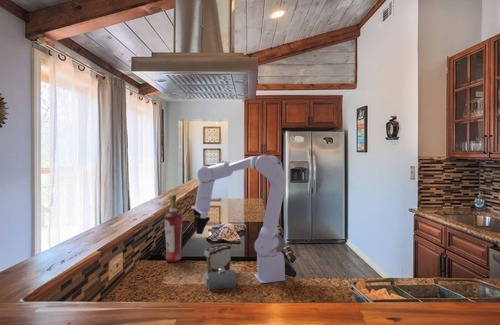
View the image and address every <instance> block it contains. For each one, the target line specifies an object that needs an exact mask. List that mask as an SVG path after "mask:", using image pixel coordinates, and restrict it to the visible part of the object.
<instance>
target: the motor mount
mask: <svg viewBox="0 0 500 325" xmlns="http://www.w3.org/2000/svg"><path fill="white" fill-rule="evenodd" d="M236 275H237V274H236V270H235V269H230V270H225V268H218V271H217V272H208V271H207V272H204V277H203V278H204V284H205V288H206V287H207V289H209V290H208V291H215V290H214V289H216V290H223V289H229V288H236V286H237V284H236V278H237V277H236Z"/></svg>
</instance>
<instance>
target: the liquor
mask: <svg viewBox="0 0 500 325" xmlns="http://www.w3.org/2000/svg"><path fill="white" fill-rule="evenodd" d="M177 210H178V209H177V194H170V195H169V213H167V214H166V215H164V232H165V233H164V234H165V235H164V236H165V248H166V250H165V252H166V256H165V260H166V261H168V262H169V263H176V262H179V261H180V260H181V259H182V258H183V256H182V232H183V231H182V230H183V229H182V228H183V225H182V224H183V215H181V214H180V213H178V212H177Z"/></svg>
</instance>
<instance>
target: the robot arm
mask: <svg viewBox="0 0 500 325" xmlns="http://www.w3.org/2000/svg"><path fill="white" fill-rule="evenodd" d="M249 168H251V169H253V170H257V172H259V173H260V174H261V175H263V176H264V177H265V178H266V179H267V181H268V182H269V183H270V186H269V192H268V197H267V202H266V208H265V213H264V217H263V223H262V227H261V228H260V231H259V232H258V237H257V239H256V240H255V241H254V245H253V246H254V250H255V252H256V256H257V257H256V261H257V262H256V263H257V265H256V267H257V269H256V270H257V272H256V273H254V274H253V276H254V277H255V279H256V280H257V281H258V283H259V284H267V283H274V282H281V281H283V282H284V281H286V280H287V279H286V277H285V276H286V272H285V271H286V269H285V267H286V266H285V265H286V264H285V263H286V262H285V257H284V254H283V253H282V252H281V251H278V250H277V248H278V246H279V244H280V238H279V229H278V226H279V225H278V224H279V222H280V221H279V219H280V215H281V209H282V204H283V200H284V194H285V190H286V185H287V184H286V183H287V177H286V175H285V172H284V169H283V163H282V162H281V160H280V159H279V158H278V157H277V156H276V155H272V154H271V155H270V154H269V155H266V154H261V155H255V156H249V157H247V158H244V159H240V160H238V161H235V162H232V163H231V162H229V161H225V160H221V161H220V162H219V163H216V164H212V163H211V164H209V166H202V167H201V168H199V169H198V171H197V178H198V186H197V192H196V197H195V204H194V205H191V209H192V211H193V215H194V227H195V229H196V231H195V233H196V235H197V234H198V235H202V234H203V232H204V231H205V228H206V225H207V223H208V222H209V221H210V219H211V218H210V217H209V216H207V215H208V213H209V212H210V210H211V209H210V207H211V200H212V195H213V190H214V185H215V181H217V180H221V179H224V178H227V177H230V176H232V175H233V173H234V172H237V171H241V170H245V169H249Z"/></svg>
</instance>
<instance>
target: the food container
mask: <svg viewBox="0 0 500 325" xmlns="http://www.w3.org/2000/svg"><path fill="white" fill-rule="evenodd" d="M232 250H233V246H232V244H231V243H214V244H210V245H208V246H206V247H205V250H204V256H205V257H206V266H207V268H206V269H207V273H208V272H217V271H218V268H225V270H231V260H232V258H231V256H232Z"/></svg>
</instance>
